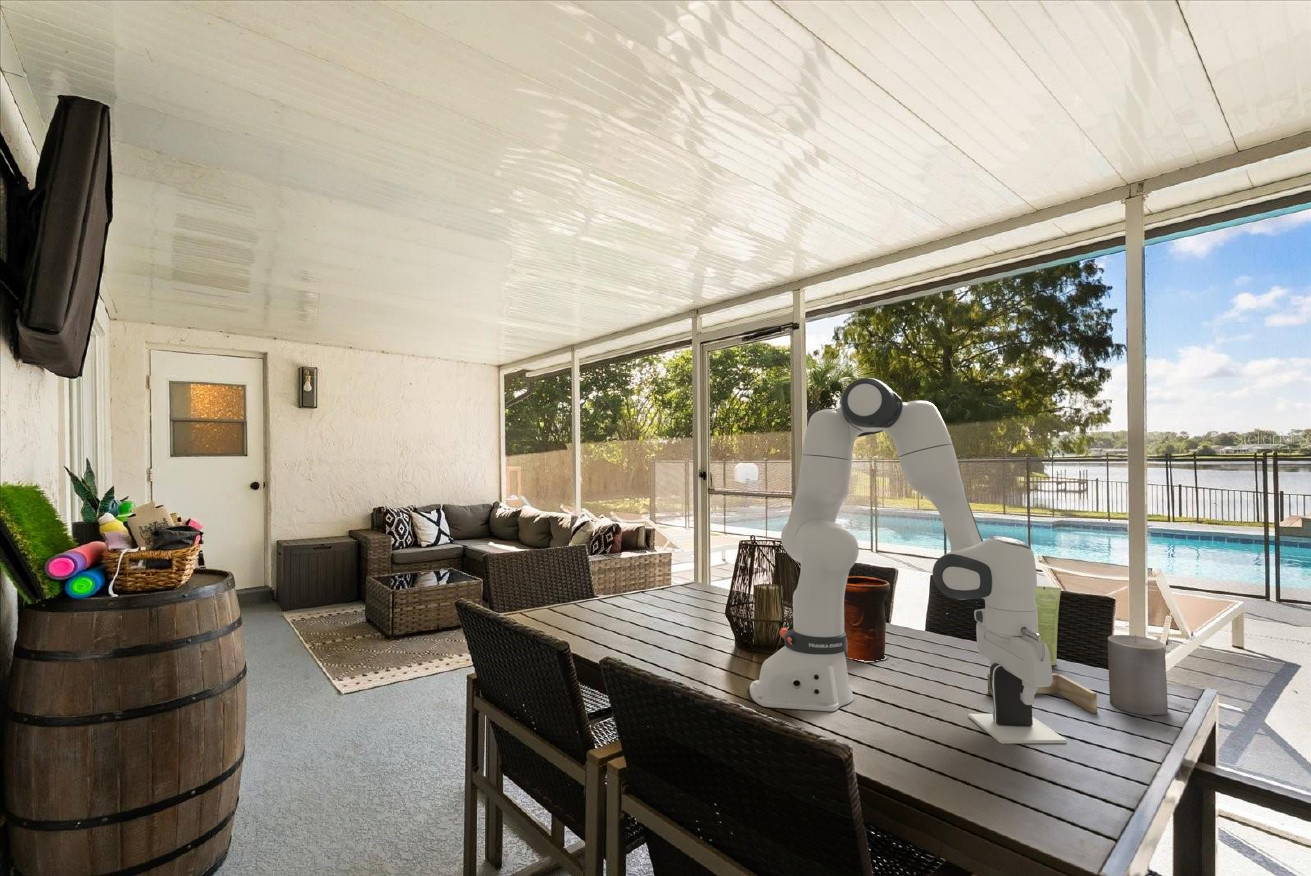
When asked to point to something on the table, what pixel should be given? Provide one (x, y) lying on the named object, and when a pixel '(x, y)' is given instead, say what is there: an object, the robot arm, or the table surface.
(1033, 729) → the mat
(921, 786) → the table surface
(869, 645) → the vessel
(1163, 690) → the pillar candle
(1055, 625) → the tube
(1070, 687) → the bay
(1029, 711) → the battery charger
